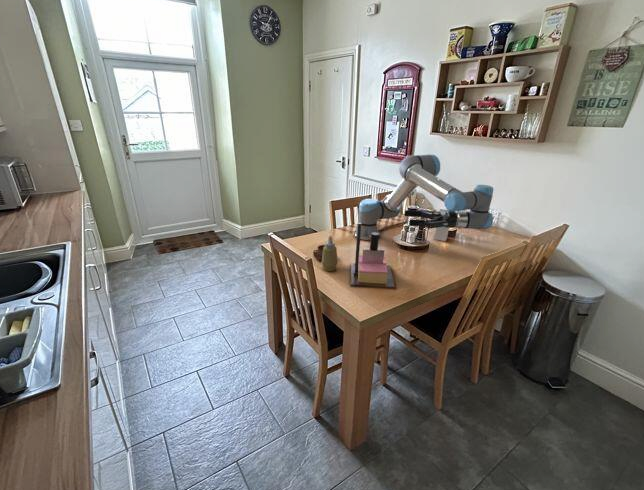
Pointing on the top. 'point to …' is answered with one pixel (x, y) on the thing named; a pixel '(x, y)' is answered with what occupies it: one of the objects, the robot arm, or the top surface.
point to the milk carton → (441, 230)
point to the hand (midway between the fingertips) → (406, 217)
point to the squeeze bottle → (329, 255)
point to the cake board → (374, 285)
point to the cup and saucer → (319, 252)
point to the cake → (372, 272)
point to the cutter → (373, 251)
